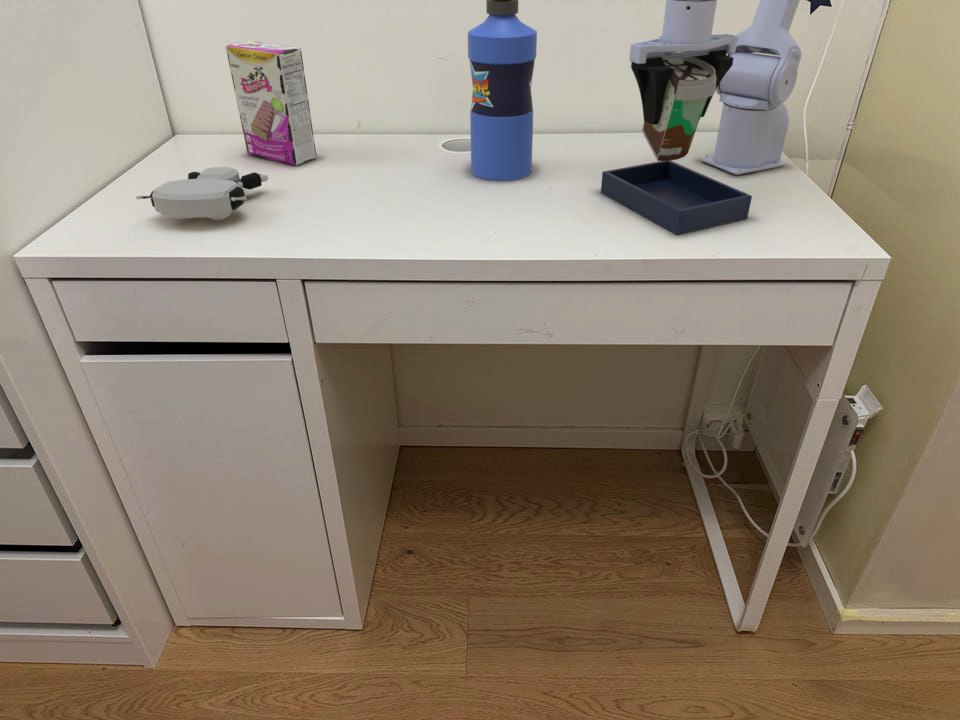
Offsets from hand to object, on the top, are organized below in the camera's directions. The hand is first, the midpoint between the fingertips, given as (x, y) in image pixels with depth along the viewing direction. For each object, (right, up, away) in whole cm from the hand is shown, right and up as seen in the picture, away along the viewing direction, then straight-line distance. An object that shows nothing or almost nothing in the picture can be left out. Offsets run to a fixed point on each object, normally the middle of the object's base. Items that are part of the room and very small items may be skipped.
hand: (674, 118), depth 87 cm
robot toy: (-60, -11, +4) cm, 61 cm away
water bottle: (-21, -2, +16) cm, 27 cm away
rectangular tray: (0, -10, +4) cm, 11 cm away
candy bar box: (-56, +2, +22) cm, 61 cm away
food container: (0, -3, +2) cm, 4 cm away
